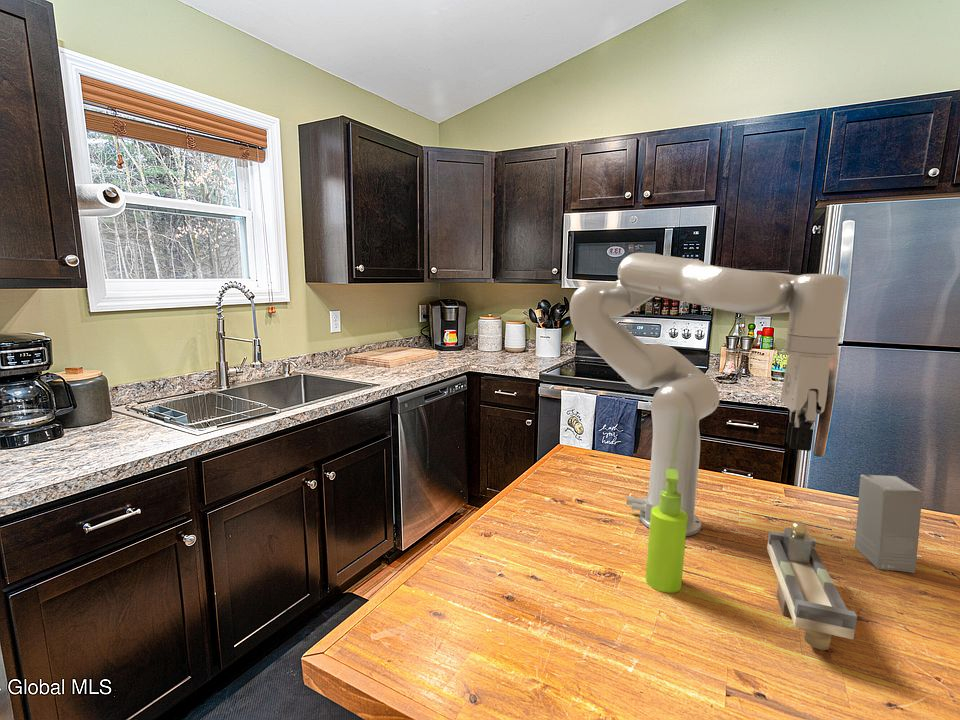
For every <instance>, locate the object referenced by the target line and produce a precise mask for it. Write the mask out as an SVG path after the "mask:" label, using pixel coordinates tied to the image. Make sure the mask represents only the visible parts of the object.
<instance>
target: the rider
mask: <svg viewBox="0 0 960 720" xmlns="http://www.w3.org/2000/svg"><path fill="white" fill-rule="evenodd" d="M783 533H784V538H783V546H782V547H783V550H784V552H785V554H786V557H787V559H788V561H794V562H799V563H804V564H809V560H810V553H811V546H812V542H811V540H810V538H811V537H810V536H809V534H808V533H807V524H806V523H804V522H801V521H800V520H798V521H797V520H794V521H792V524H791V528H789V527H784V532H783Z"/></svg>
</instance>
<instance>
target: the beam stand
mask: <svg viewBox="0 0 960 720" xmlns="http://www.w3.org/2000/svg"><path fill="white" fill-rule="evenodd" d="M783 538H784V532H778V531H772V530H769V531H768V538H767V547H766V549H767V550H766V551H767V553H768V555H769V558H770V561H771V564H772V566H773V569H774V572H775V574H776V578H777V580H778V585H777V592H776V598H777V601H778V604H779V607H780V611H781V613H782V615H783V616H787V617H789V618H790V617H791V620H792V623H793V625H794V627H796V628H801V629H805V632H804V641H805V642H806V643H807V644H808V645H810V646H811V647H813V648H814V649H818V650H821V651H827V650H828V649H830V646H831V638H832V635H833V636H836V637H840V638H844V639H848V640H854V638H855V632H856V626H857V620H858V615H857V614H856V612H855V611H854V610H849V609H848V608H847V606H846V604H845V603H844V600H843V598H842V597H841V595H840V593H839V591H838V589H837V588H836V586H835V583H834V581H833V579H832V578H831V575H830V574H829V572H828V570H827V569H826V567H825V565H824V563H823V561H822V560H821V558H820V556H819V554H818V552H817V550H816V544H817V543H816V542H817V541H816V540H815V538H814V537H813V538H812V537H809V538H810V540H811V542H812V546H811V553H810V560H809V564H804V563H799V562H794V561H788V559H787V557H786V554H785V552H784V550H783V547H782V546H783Z"/></svg>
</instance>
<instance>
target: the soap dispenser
mask: <svg viewBox="0 0 960 720" xmlns="http://www.w3.org/2000/svg"><path fill="white" fill-rule="evenodd" d="M678 481H679V478H678V470H676V469H668V468H666V489H664V490H662V491H661V492H660V501H659V505H658V506H654V507H653V508H652V509H651V517H650V528H649V531H648V544H647V545H648V546H647V554H646V555H647V557H646V567H645V568H646V570H645V571H646V572H645V581H646V583H647V585H649V587H650V588H652V589H654V590H656V591H658V592H661V593H676V592H680V590H681V589H682V583H683V581H682V580H683V570H684V560H685V550H686V549H685V548H686V539H687V538H686V537H687V536H686V529H687V518H688V516H687V514H686V513H685V512H684V511H683V510H681V509H680V506H681V494H680V493H679V492H677V491H676V490H677V483H678Z"/></svg>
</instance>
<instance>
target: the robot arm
mask: <svg viewBox="0 0 960 720" xmlns="http://www.w3.org/2000/svg"><path fill="white" fill-rule="evenodd" d="M617 278H618V279H617V280H615V281H614V282H611V281H610V282H609V281H608V282H607V281H605V282H598V281H597V282H590V283H587V284H584V285H582V286H580V287H578V288H577V289H575V291H574V292H573V294H572V296H571V299H570V303H569V316H570V323H571V324H572V327H573V329H574V331H575V332H576V334H577V335H578V337H579V338H580V339H581V340H582V341H583V342H584V343H585V344H586V345H587V346H589V347H590V348H591V349H592V350H593V351H594V352H595V353H596V354H598V355H599V356H600V357H601V358H602V359H603V360H604V361H605V362H606V363H607V365H608V366H610V367H611V368H612V369H613V370H614V371H615V372H616V373H617V374H618V375H619V376H620V377H621V378H622V379H623V380H624V381H625V382H627V384H628V385H630V386H631V387H632V388H634V389H637V390H649V389H652V388H656V387H658V389H657V390H656V391H655V393H654V395H653V397H652V400H651V406H650V410H651V411H650V412H651V421H652V440H651V441H652V442H651V459H650V468H649V469H650V470H649V482H648V483H649V485H648V493H647V494H646V497H644V496H642V497H641V498H639V497H636V496H629V495H627V496H626V505H627V506H630V507H631V510H635V511H639V520H640V521H641V523H642V524H643V525H644V526H646V527H647V528H649V529H650V517H651V509H652V508H653V507H654V506H658V505H659V501H660V492H661V491H662V490H664V489H666V468H668V469H676V470H678V478H679V481H678V483H677V490H676V491H677V492H679V493H680V494H681V506H680V509H681V510H683V511H684V512H685V513H686V514H687V516H688V518H687V529H686V537H688V536H690V537H691V536H693V535H696V534H697V533H699V532H700V531H701V529H702V522H701V519H700V518H699V516H697V515H696V513H695V511H696V510H695V508H696V500H697V487H698V476H699V465H700V454H701V433H700V420H702V419H704V418H705V417H708V416H710V415H711V414H713V412H714V411H716V409H717V408H718V406H719V404H720V400H721V399H720V392H719V389H718V387H717V385H716V384H715V382H714V381H713V380H712V379H711V378H710V377H709V376H707V374H705V372H703V371H702V370H701V369H700V368H699V367H697V366H696V365H695V364H694V363H692V361H690V360H689V359H688V358H686V356H685V355H683V354H682V353H681V352H679V351H678V350H676V349H675V348H673V347H671V346H669V345H667V344H663V343H653V344H646V343H644V342H643V341H642V340H640V339H639V338H638V337H636V336H635V335H634V334H633V333H632V332H630V331H629V330H628V329H627V328H626V327H625V326H623V325H621V324H619V322H616V321H615V320H613V319H616V318H621V317H623V316H627V315H628V314H629V313H631V312H633V311H635V310H636V309H638V308H639V307H641V306H643V304H646V303H647V302H648V301H650V300H651V299H653V298H654V297H659V298H666V299H670V300H675V301H680V302H683V303H684V302H685V303H688V304H691V305H699V306H702V307H706V308H711V309H716V310H720V311H725V312H730V313H731V312H732V313H737V314H743V315H748V316H764V315H773V314H780V313H781V314H782V313H789V316H788V324H787V332H786V339H785V340H786V341H785V347H784V352H785V353H786V354H788V357H787V360H786V365H785V371H784V377H783V381H782V388H781V393H780V394H781V396H780V400H781V402H782V404H784V405H785V407H786V408H787V409H788V410H789V417H788V420H789V422H788V425H787V430H786V431H787V432H786V438H785V440H786V441H785V442H786V444H787V445H789V448H790V450H797V451H805V452H810V451H811V450H812V445H813V436H814V429H815V424H816V421H817V415H821V414H822V413H824V411H825V410H826V409H825V408H826V403H827V397H828V387H829V377H830V361H831V358H836V357H837V352H838V346H839V339H840V332H841V326H842V325H841V324H842V318H843V317H842V316H843V310H844V303H845V302H844V301H845V297H846V291H847V290H846V289H847V281H846V277H844V276H843V275H840V274H835V273H833V274H832V273H806V274H805V273H803V274H799V275H798V274H797V275H796V274H790V273H782V272H775V271H774V272H773V271H772V272H771V271H754V270H747V269H739V268H731V267H724V266H717V265H712V264H708V263H705V262H704V261H702V260H699V259H695V258H687V257H686V258H685V257H679V256H678V257H677V256H672V255H662V254H659V253H651V252H650V253H649V252H648V253H647V252H634V253H630V254H628V255H627V256H626V257H624V258H623V259H622V260H621V261H620V263H619V265H618V267H617Z"/></svg>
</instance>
